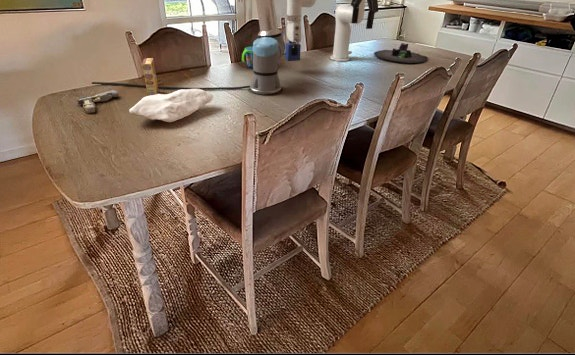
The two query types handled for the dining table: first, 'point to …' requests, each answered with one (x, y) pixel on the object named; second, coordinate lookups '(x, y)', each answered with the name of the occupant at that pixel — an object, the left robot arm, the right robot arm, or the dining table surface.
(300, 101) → the dining table surface
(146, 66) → the candy box
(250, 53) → the snack cup
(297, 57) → the block
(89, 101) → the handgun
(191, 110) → the crumpled cloth
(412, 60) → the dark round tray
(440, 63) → the dining table surface
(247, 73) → the dining table surface
